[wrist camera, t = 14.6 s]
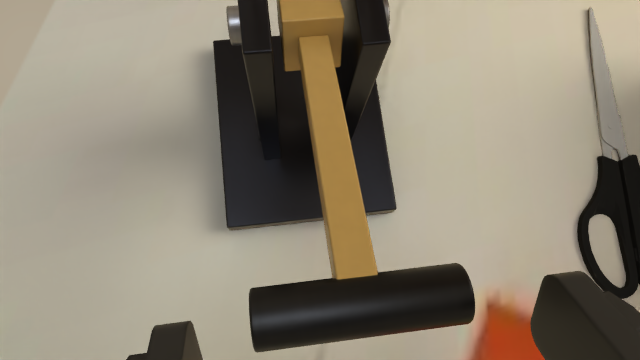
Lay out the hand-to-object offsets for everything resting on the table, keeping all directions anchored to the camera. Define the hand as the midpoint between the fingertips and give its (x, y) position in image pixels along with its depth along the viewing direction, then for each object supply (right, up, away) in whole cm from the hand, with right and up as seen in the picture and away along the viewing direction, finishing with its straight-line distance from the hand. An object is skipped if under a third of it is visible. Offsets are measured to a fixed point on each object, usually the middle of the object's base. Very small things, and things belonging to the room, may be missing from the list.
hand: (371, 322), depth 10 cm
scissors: (+18, +6, +20) cm, 28 cm away
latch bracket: (-2, +7, +19) cm, 20 cm away
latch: (-1, +4, +5) cm, 7 cm away
